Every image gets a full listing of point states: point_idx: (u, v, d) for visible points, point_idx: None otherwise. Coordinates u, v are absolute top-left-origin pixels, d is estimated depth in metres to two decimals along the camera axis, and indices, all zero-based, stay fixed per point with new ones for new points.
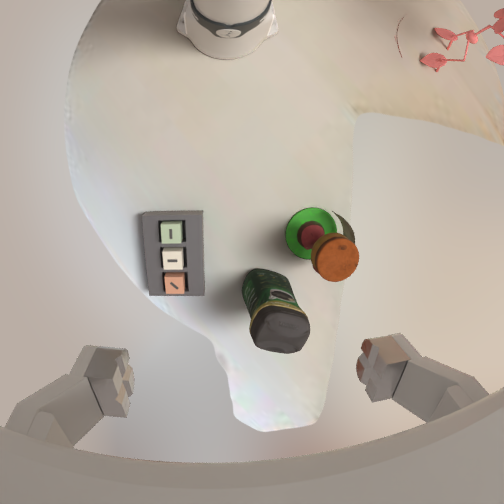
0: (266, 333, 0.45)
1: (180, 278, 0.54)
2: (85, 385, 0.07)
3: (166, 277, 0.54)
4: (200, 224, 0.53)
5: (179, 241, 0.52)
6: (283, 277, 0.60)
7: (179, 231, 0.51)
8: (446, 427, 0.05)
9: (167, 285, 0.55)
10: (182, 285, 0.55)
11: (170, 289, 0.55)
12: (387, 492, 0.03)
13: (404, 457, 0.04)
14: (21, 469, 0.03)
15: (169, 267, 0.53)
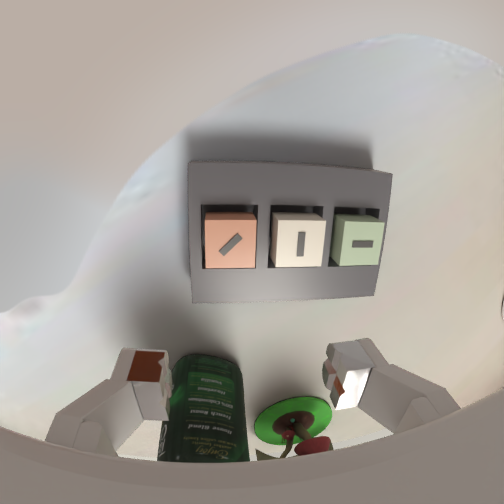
0: None
1: (251, 260, 0.21)
2: (129, 390, 0.07)
3: (254, 224, 0.21)
4: (357, 293, 0.25)
5: (343, 262, 0.22)
6: None
7: (364, 262, 0.23)
8: (446, 427, 0.05)
9: (230, 227, 0.20)
10: (229, 266, 0.21)
11: (218, 233, 0.20)
12: (387, 492, 0.03)
13: (404, 457, 0.04)
14: (21, 469, 0.03)
15: (282, 234, 0.21)
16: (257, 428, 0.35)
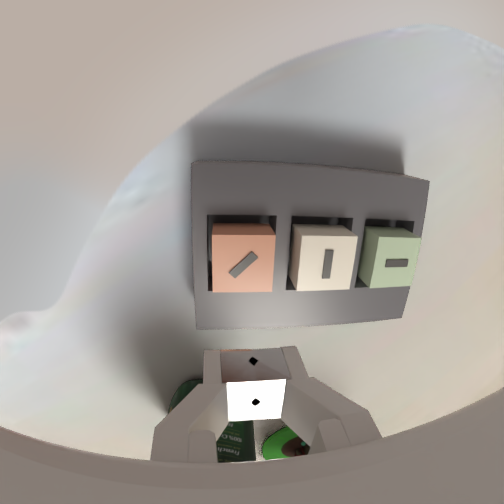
0: None
1: (268, 283, 0.18)
2: (225, 392, 0.07)
3: (272, 241, 0.17)
4: (384, 316, 0.22)
5: (374, 284, 0.18)
6: None
7: (396, 284, 0.19)
8: (446, 427, 0.05)
9: (243, 244, 0.17)
10: (241, 290, 0.18)
11: (229, 251, 0.17)
12: (387, 492, 0.03)
13: (404, 457, 0.04)
14: (21, 469, 0.03)
15: (306, 252, 0.17)
16: (265, 451, 0.31)
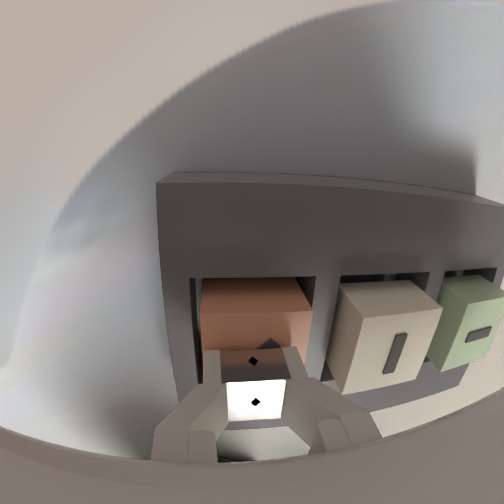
0: None
1: None
2: (224, 392, 0.07)
3: (307, 319, 0.09)
4: (440, 388, 0.14)
5: (447, 366, 0.10)
6: None
7: (471, 359, 0.11)
8: (446, 427, 0.05)
9: (257, 327, 0.09)
10: None
11: (230, 338, 0.09)
12: (387, 492, 0.03)
13: (404, 457, 0.04)
14: (21, 469, 0.03)
15: (366, 343, 0.09)
16: None
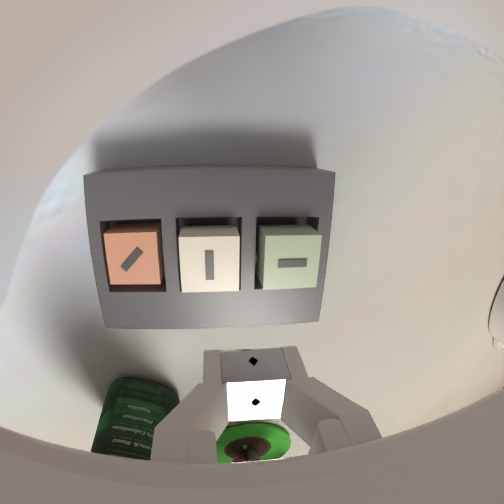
0: None
1: (155, 276, 0.19)
2: (224, 392, 0.07)
3: (154, 237, 0.18)
4: (296, 319, 0.22)
5: (268, 285, 0.19)
6: None
7: (296, 285, 0.19)
8: (446, 427, 0.05)
9: (130, 240, 0.18)
10: (133, 282, 0.19)
11: (118, 247, 0.18)
12: (387, 492, 0.03)
13: (404, 457, 0.04)
14: (21, 469, 0.03)
15: (185, 254, 0.17)
16: None
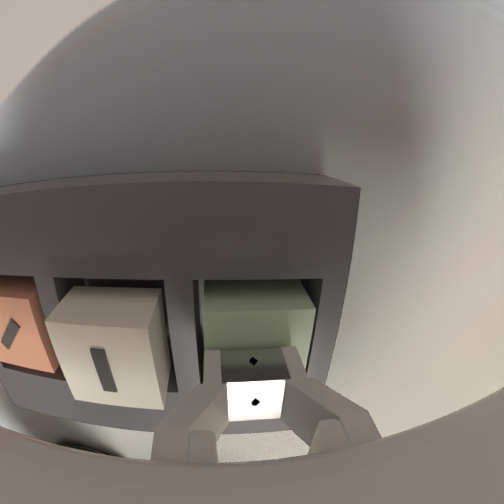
0: None
1: (45, 362, 0.09)
2: (225, 392, 0.07)
3: (29, 306, 0.09)
4: (276, 427, 0.12)
5: None
6: None
7: None
8: (446, 427, 0.05)
9: (1, 308, 0.08)
10: (21, 364, 0.09)
11: None
12: (387, 492, 0.03)
13: (404, 457, 0.04)
14: (21, 469, 0.03)
15: (62, 349, 0.08)
16: None
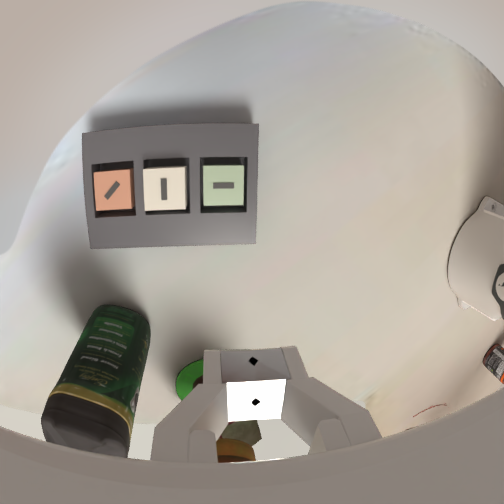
0: (80, 444, 0.16)
1: (128, 202, 0.25)
2: (224, 392, 0.07)
3: (128, 173, 0.24)
4: (236, 241, 0.28)
5: (207, 202, 0.26)
6: None
7: (228, 203, 0.26)
8: (446, 427, 0.05)
9: (111, 176, 0.24)
10: (112, 208, 0.25)
11: (103, 182, 0.24)
12: (387, 492, 0.03)
13: (404, 457, 0.04)
14: (21, 469, 0.03)
15: (147, 181, 0.23)
16: (178, 390, 0.37)
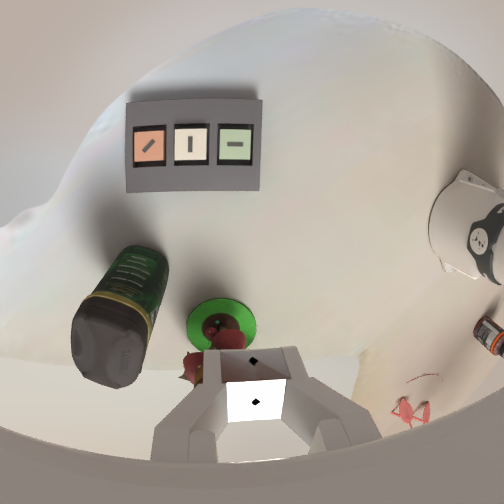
0: (105, 336, 0.23)
1: (161, 155, 0.32)
2: (224, 392, 0.07)
3: (162, 133, 0.31)
4: (244, 188, 0.35)
5: (222, 156, 0.33)
6: None
7: (238, 157, 0.33)
8: (446, 427, 0.05)
9: (148, 135, 0.31)
10: (148, 159, 0.32)
11: (142, 139, 0.31)
12: (387, 492, 0.03)
13: (404, 457, 0.04)
14: (21, 469, 0.03)
15: (178, 138, 0.31)
16: (189, 330, 0.44)
